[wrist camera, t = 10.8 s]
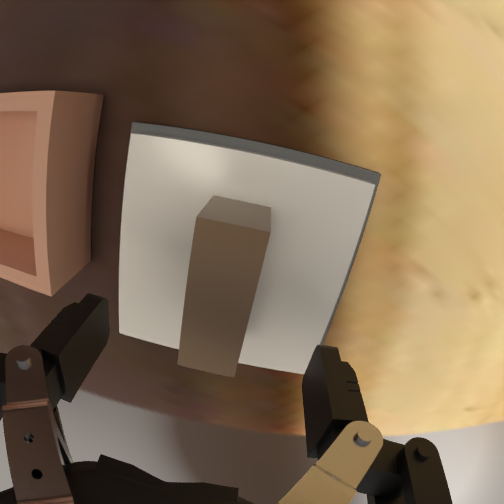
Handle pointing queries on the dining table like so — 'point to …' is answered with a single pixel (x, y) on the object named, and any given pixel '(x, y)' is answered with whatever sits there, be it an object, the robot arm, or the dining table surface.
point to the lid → (233, 252)
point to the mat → (272, 151)
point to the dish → (46, 185)
